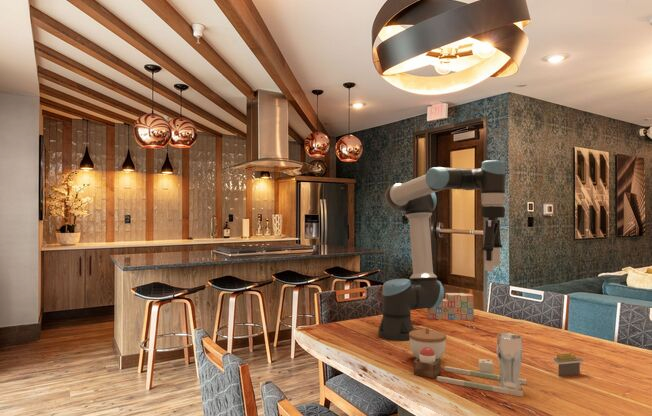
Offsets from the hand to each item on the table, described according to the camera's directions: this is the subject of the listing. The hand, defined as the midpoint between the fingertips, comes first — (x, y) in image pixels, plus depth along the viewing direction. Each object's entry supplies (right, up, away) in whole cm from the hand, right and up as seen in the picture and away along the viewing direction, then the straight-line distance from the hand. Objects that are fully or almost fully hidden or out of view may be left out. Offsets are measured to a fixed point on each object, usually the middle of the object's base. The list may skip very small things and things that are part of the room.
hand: (492, 268), depth 148 cm
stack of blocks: (+5, -34, +67) cm, 75 cm away
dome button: (-24, -31, -8) cm, 40 cm away
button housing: (-24, -32, -8) cm, 41 cm away
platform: (+20, -33, -9) cm, 40 cm away
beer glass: (-3, -32, -20) cm, 38 cm away
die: (-6, -33, -9) cm, 34 cm away
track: (-10, -32, -16) cm, 37 cm away
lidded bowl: (-21, -33, +4) cm, 39 cm away
